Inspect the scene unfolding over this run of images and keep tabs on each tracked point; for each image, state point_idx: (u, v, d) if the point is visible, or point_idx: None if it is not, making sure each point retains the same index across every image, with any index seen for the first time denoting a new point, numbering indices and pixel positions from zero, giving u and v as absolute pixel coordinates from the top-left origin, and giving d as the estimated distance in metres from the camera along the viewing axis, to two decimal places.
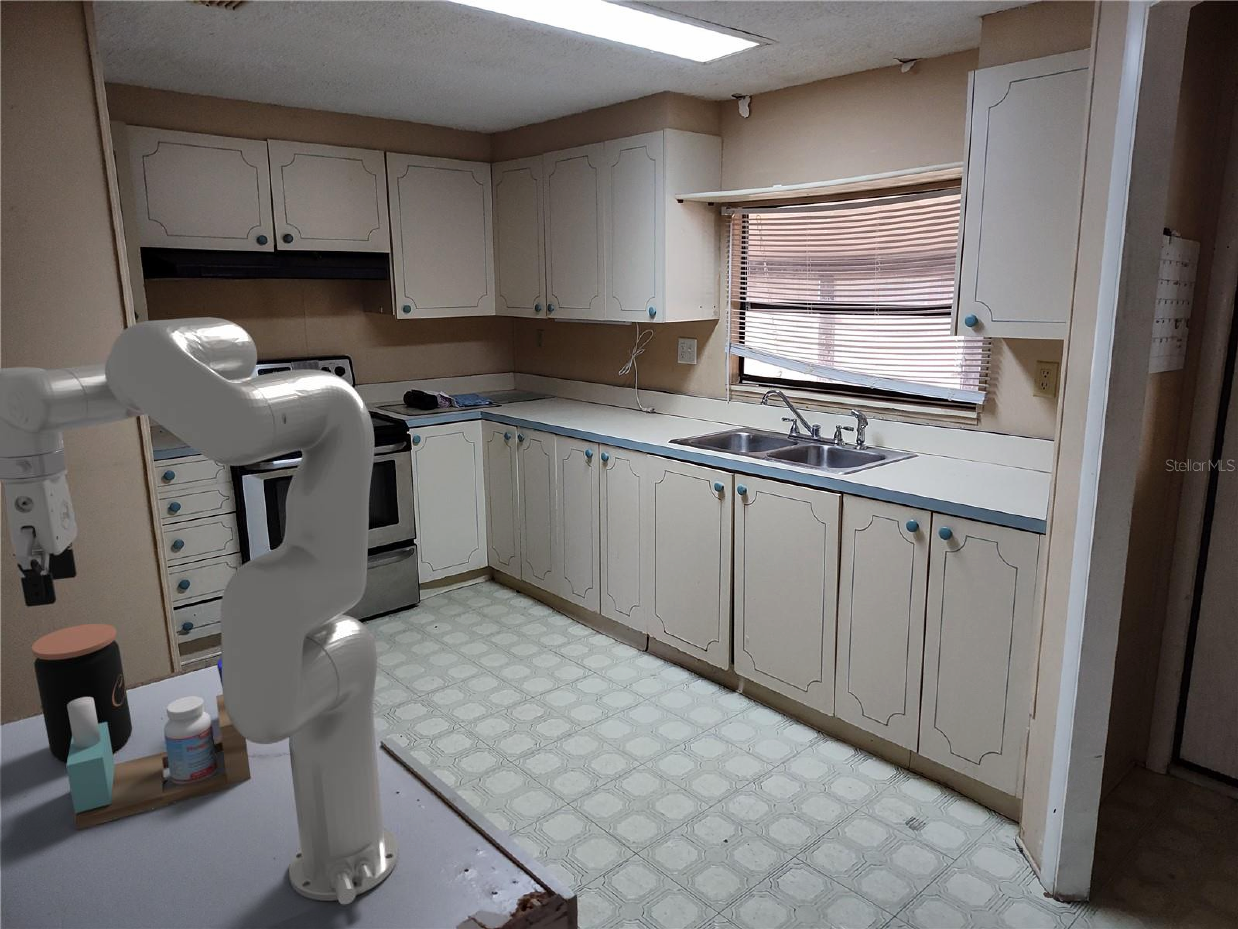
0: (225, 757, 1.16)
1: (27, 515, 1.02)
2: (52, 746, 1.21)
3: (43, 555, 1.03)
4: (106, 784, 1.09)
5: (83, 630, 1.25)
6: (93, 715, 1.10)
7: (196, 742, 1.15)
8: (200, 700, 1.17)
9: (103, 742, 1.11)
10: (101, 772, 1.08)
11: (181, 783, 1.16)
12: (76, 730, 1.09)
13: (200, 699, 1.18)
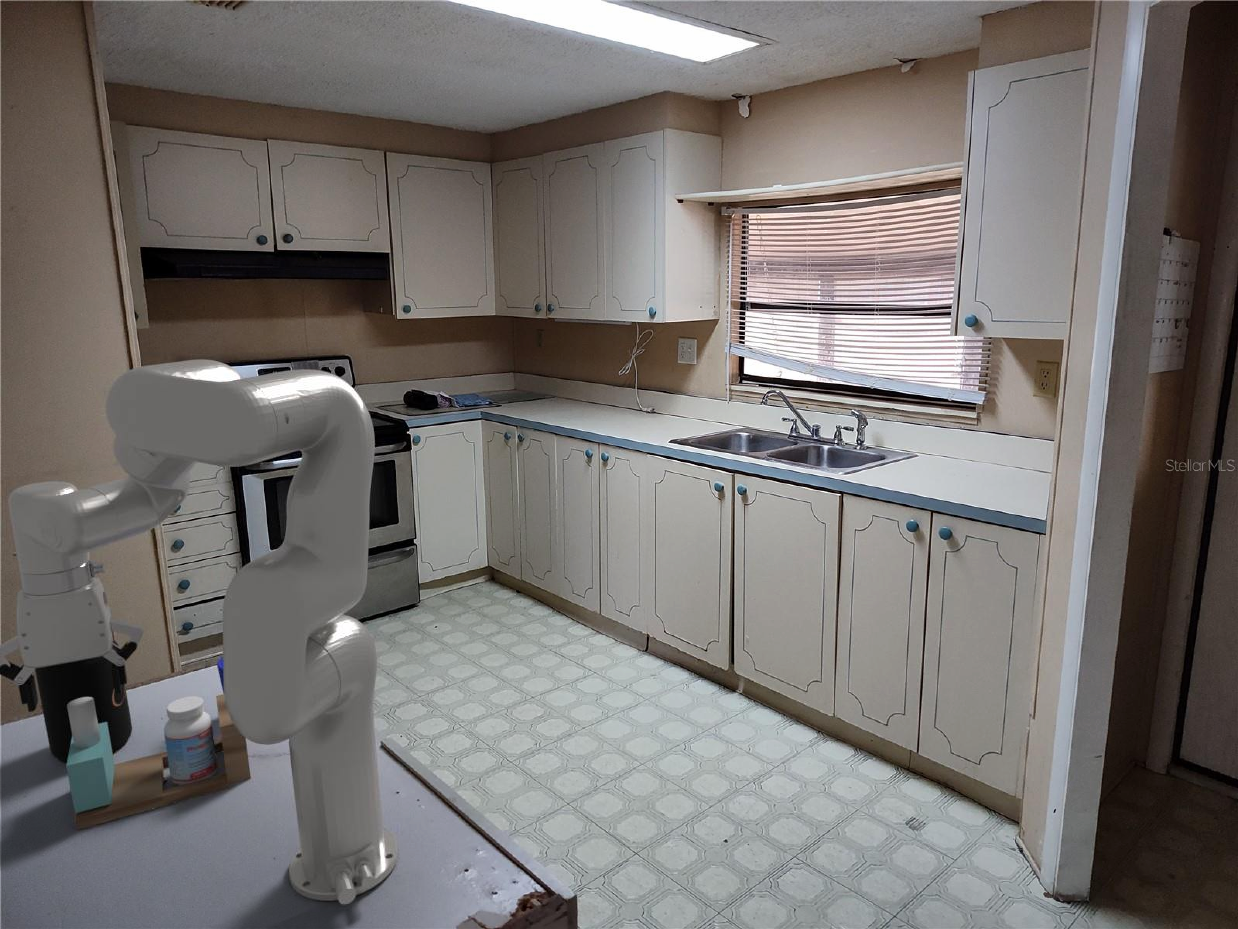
0: (225, 757, 1.16)
1: (108, 608, 1.10)
2: (52, 746, 1.21)
3: (112, 643, 1.12)
4: (106, 784, 1.09)
5: None
6: (93, 715, 1.10)
7: (196, 742, 1.15)
8: (200, 700, 1.17)
9: (103, 742, 1.11)
10: (101, 772, 1.08)
11: (181, 783, 1.16)
12: (76, 730, 1.09)
13: (200, 699, 1.18)
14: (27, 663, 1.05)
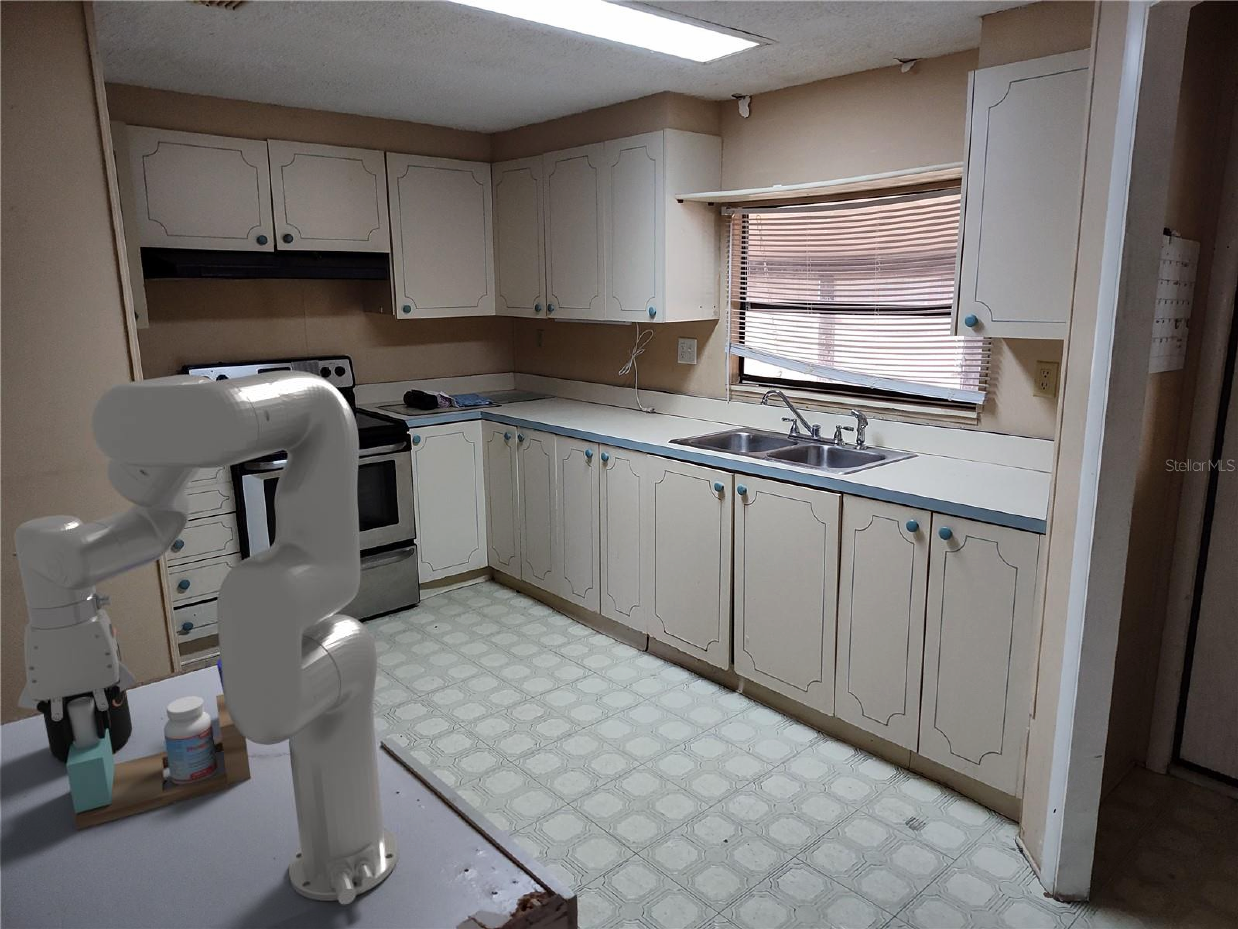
0: (225, 757, 1.16)
1: (114, 639, 1.11)
2: (52, 746, 1.21)
3: None
4: (106, 784, 1.09)
5: None
6: (93, 715, 1.10)
7: (196, 742, 1.15)
8: (200, 700, 1.17)
9: (103, 742, 1.11)
10: (101, 772, 1.08)
11: (181, 783, 1.16)
12: (76, 730, 1.09)
13: (200, 699, 1.18)
14: (35, 696, 1.06)
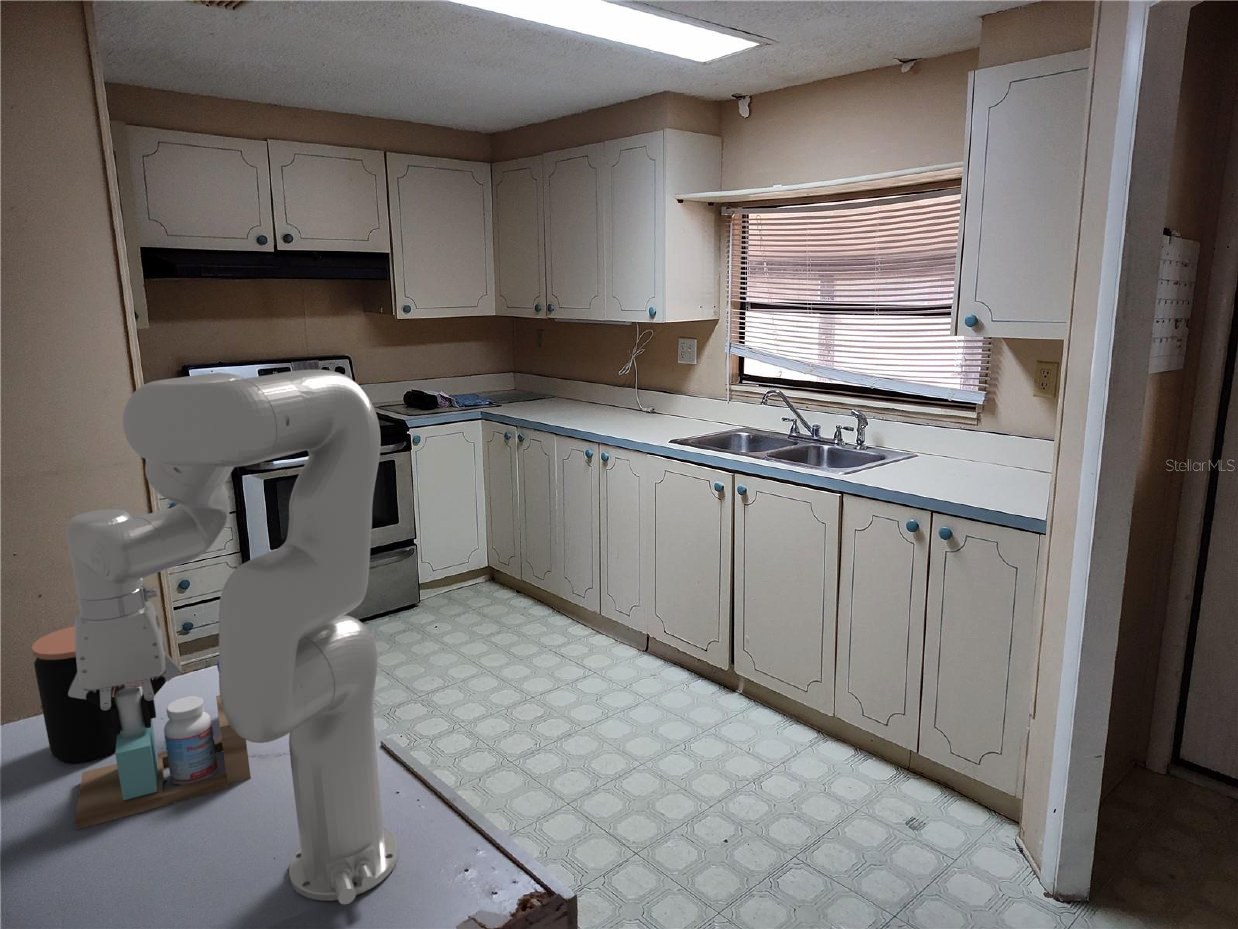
0: (225, 757, 1.16)
1: (160, 631, 1.13)
2: (52, 746, 1.21)
3: None
4: (153, 772, 1.11)
5: None
6: (140, 705, 1.13)
7: (196, 742, 1.15)
8: (200, 700, 1.17)
9: (149, 731, 1.14)
10: (148, 761, 1.11)
11: (181, 783, 1.16)
12: (123, 719, 1.12)
13: (200, 699, 1.18)
14: (85, 686, 1.08)
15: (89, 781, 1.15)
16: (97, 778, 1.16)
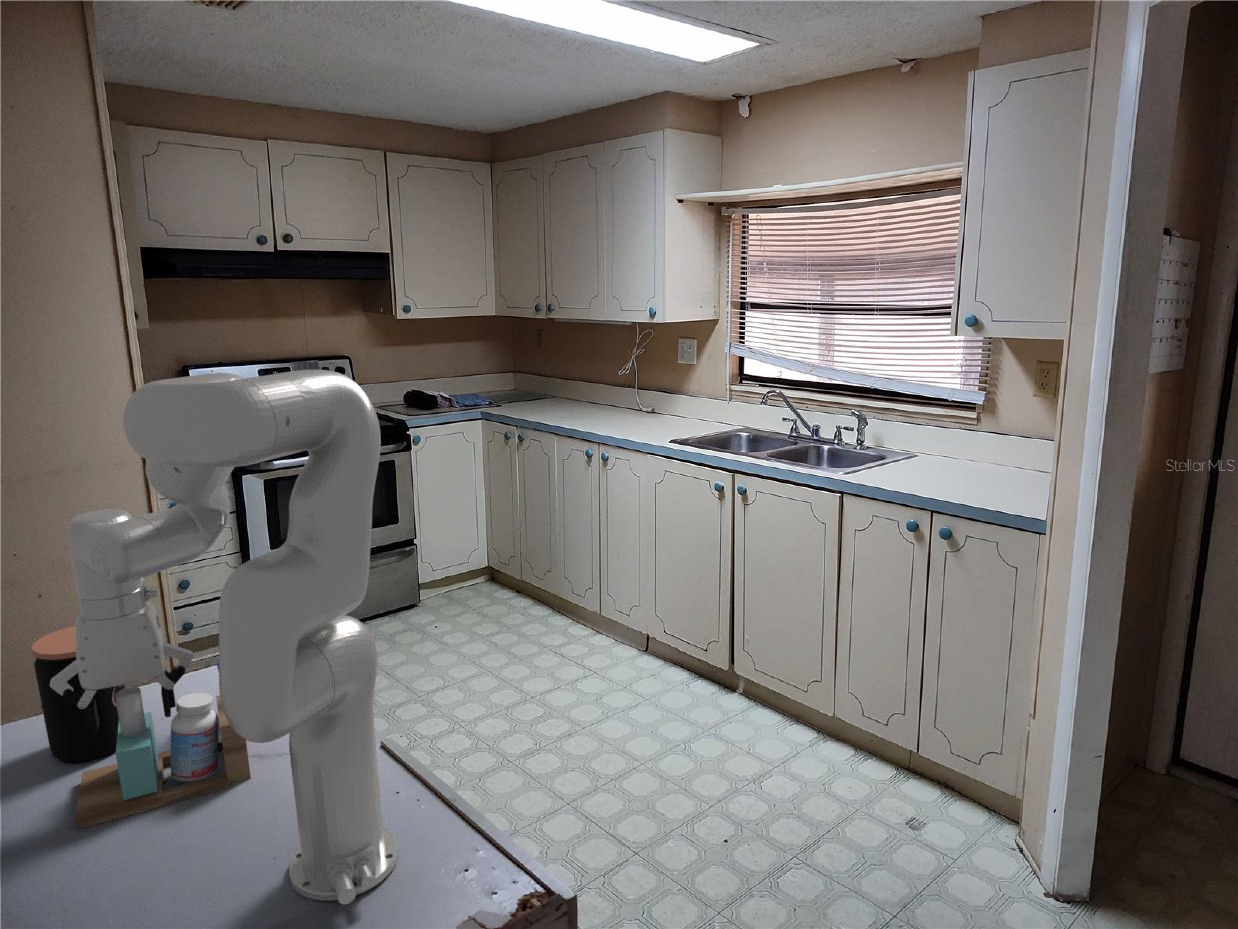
0: (225, 757, 1.16)
1: (161, 631, 1.13)
2: (52, 746, 1.21)
3: None
4: (153, 772, 1.11)
5: None
6: (140, 705, 1.13)
7: (202, 739, 1.16)
8: (210, 697, 1.18)
9: (149, 731, 1.14)
10: (149, 761, 1.11)
11: (181, 779, 1.16)
12: (124, 719, 1.12)
13: (210, 696, 1.18)
14: (85, 686, 1.08)
15: (89, 781, 1.15)
16: (97, 778, 1.16)
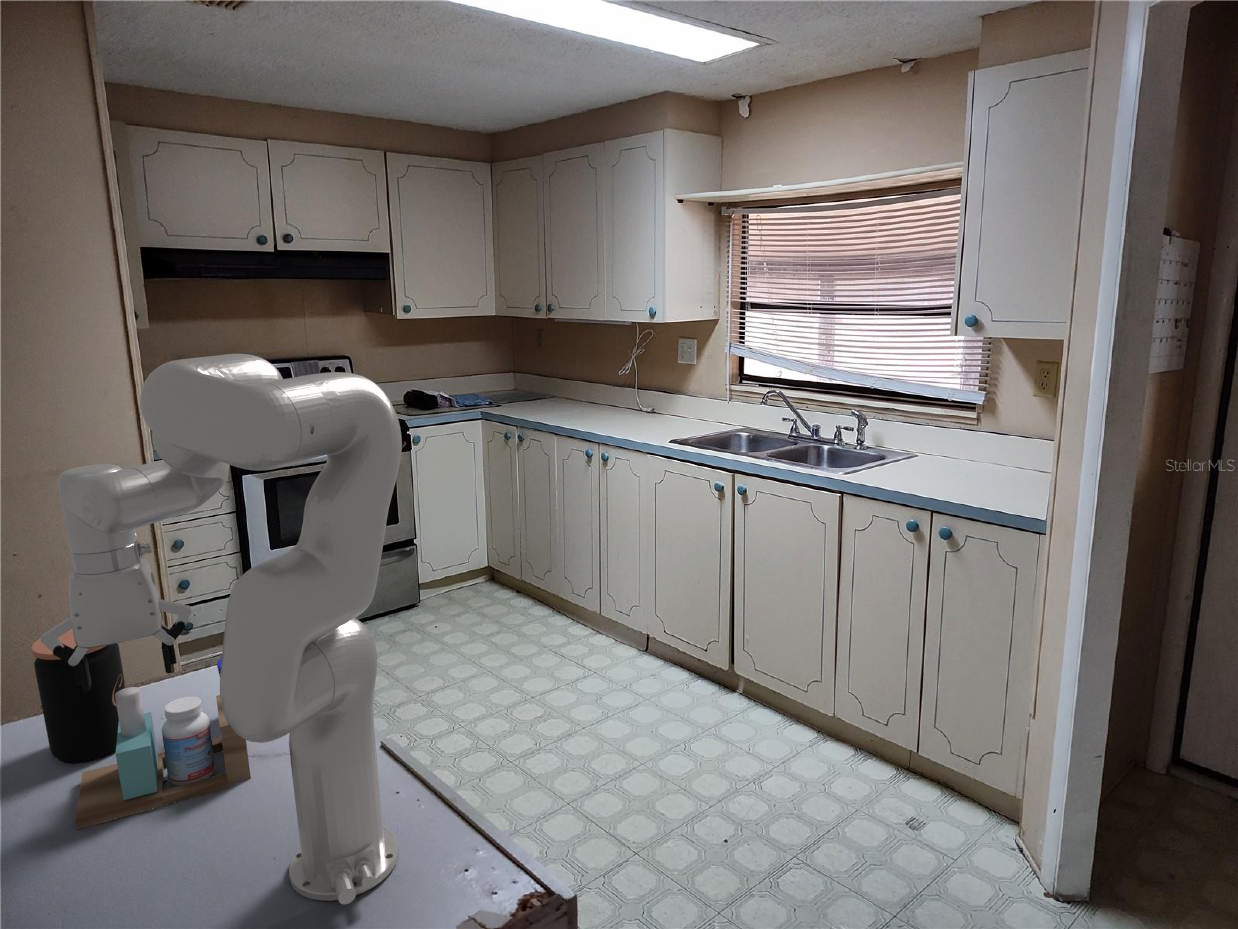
0: (225, 757, 1.16)
1: (156, 588, 1.12)
2: (52, 746, 1.21)
3: (161, 623, 1.13)
4: (153, 772, 1.11)
5: None
6: (140, 705, 1.13)
7: (194, 742, 1.15)
8: (198, 700, 1.17)
9: (149, 731, 1.14)
10: (149, 761, 1.11)
11: (179, 783, 1.16)
12: (124, 719, 1.12)
13: (198, 699, 1.18)
14: (80, 643, 1.07)
15: (89, 781, 1.15)
16: (97, 778, 1.16)
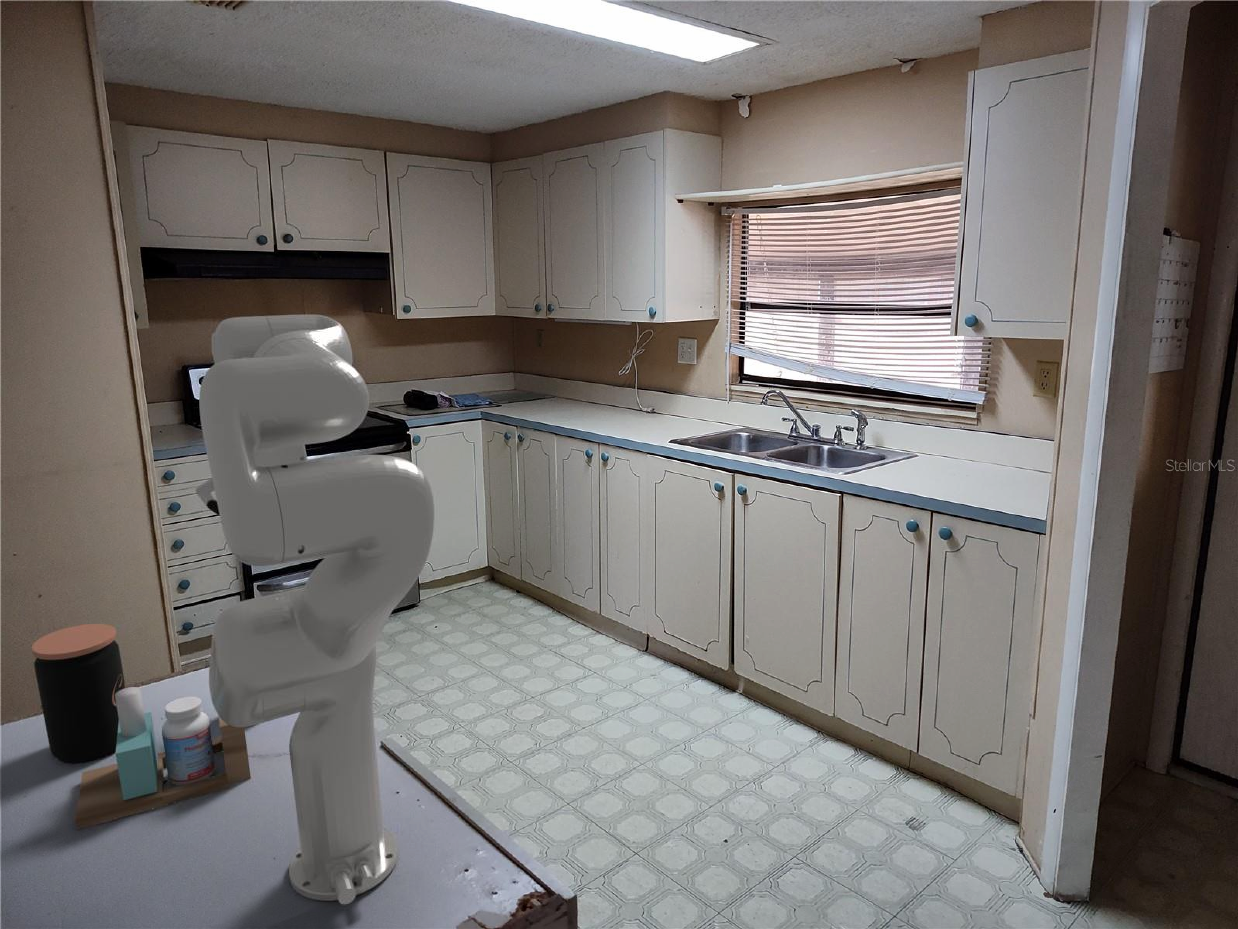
0: (225, 757, 1.16)
1: None
2: (52, 746, 1.21)
3: None
4: (153, 772, 1.11)
5: (83, 630, 1.25)
6: (140, 705, 1.13)
7: (194, 742, 1.15)
8: (198, 700, 1.17)
9: (149, 731, 1.14)
10: (149, 761, 1.11)
11: (179, 783, 1.16)
12: (124, 719, 1.12)
13: (198, 699, 1.18)
14: None
15: (89, 781, 1.15)
16: (97, 778, 1.16)
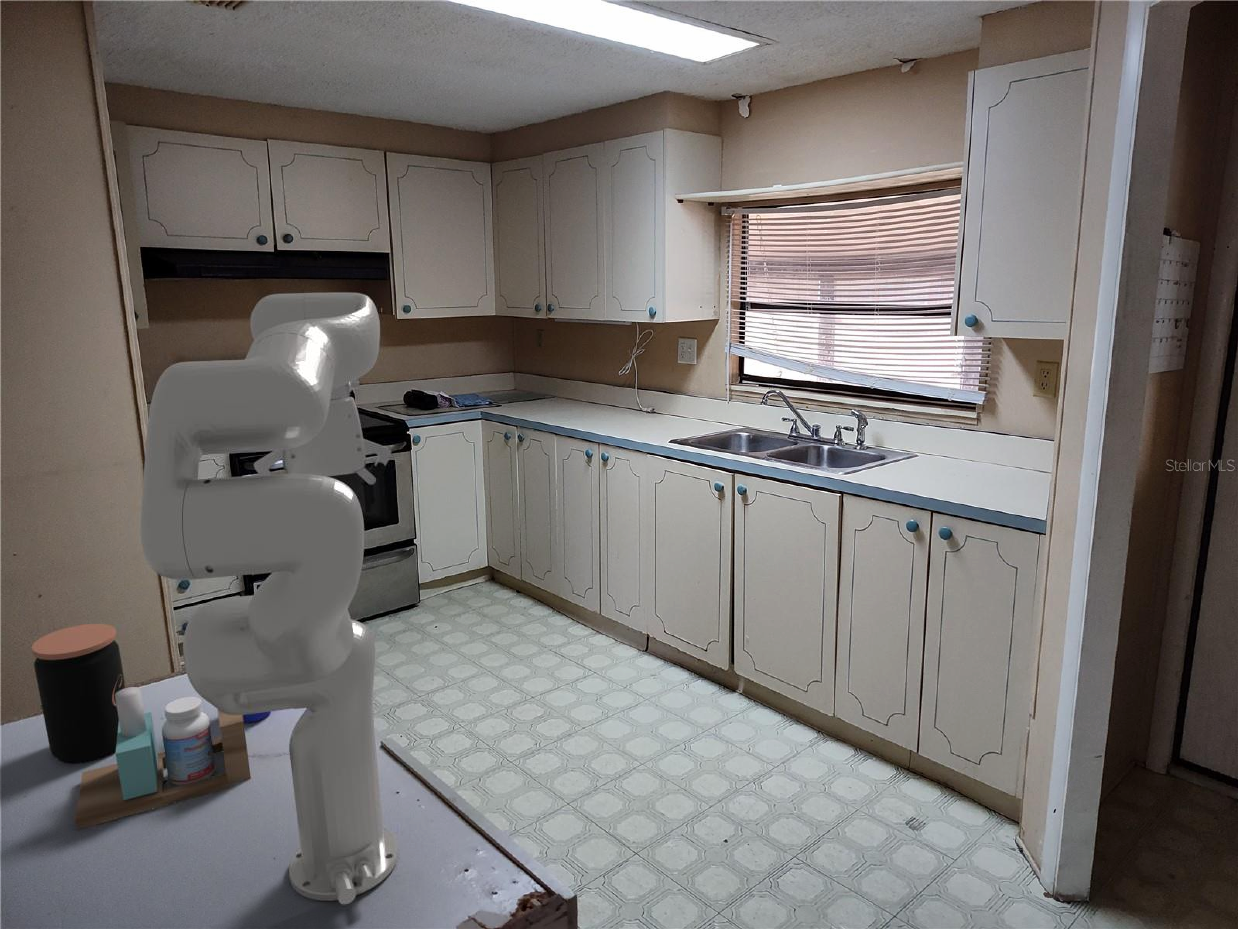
0: (225, 757, 1.16)
1: None
2: (52, 746, 1.21)
3: None
4: (153, 772, 1.11)
5: (83, 630, 1.25)
6: (140, 705, 1.13)
7: (194, 743, 1.15)
8: (198, 701, 1.17)
9: (149, 731, 1.14)
10: (149, 761, 1.11)
11: (178, 784, 1.16)
12: (124, 719, 1.12)
13: (198, 700, 1.17)
14: (292, 473, 1.06)
15: (89, 781, 1.15)
16: (97, 778, 1.16)
